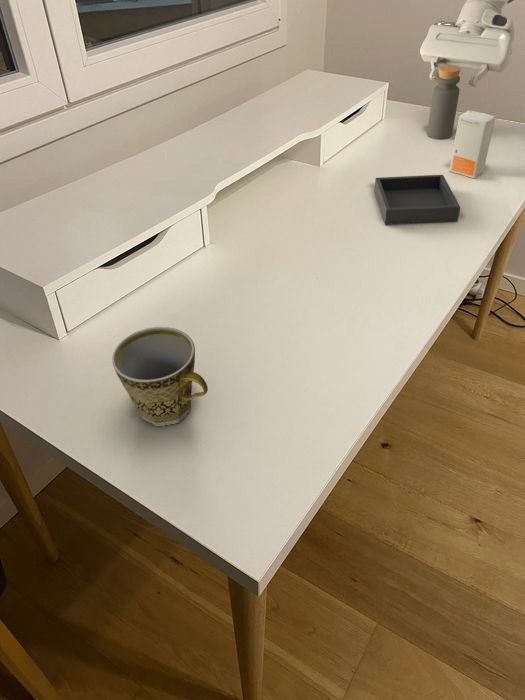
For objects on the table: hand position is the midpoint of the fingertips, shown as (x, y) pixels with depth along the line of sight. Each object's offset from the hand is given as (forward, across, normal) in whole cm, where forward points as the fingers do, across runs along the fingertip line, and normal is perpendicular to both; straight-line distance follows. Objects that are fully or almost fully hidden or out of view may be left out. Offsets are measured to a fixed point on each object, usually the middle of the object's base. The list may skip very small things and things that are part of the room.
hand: (451, 82), depth 135 cm
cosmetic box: (+22, +13, -6) cm, 26 cm away
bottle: (+10, 0, +6) cm, 12 cm away
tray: (+35, +10, -19) cm, 41 cm away
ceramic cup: (+83, +7, -67) cm, 107 cm away
